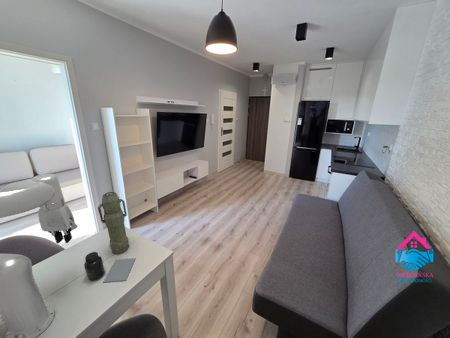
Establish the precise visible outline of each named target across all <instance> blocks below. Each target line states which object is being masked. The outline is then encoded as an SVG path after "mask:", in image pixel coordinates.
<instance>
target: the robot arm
mask: <svg viewBox="0 0 450 338" xmlns="http://www.w3.org/2000/svg"><path fill="white" fill-rule="evenodd" d="M38 208H39V209H38ZM35 209H38V210H37V211H38V213H37V214H38V222H39V225H40V228H41V230H42V231H43V232H48V233H49V234H51V236H52V237H54V239H55V242H56V244H57V245H58V244H60V243H61V242H62V241H63V240H64V242H65V244H68V243H69V242H70V241H71V240H72V239H73V236H72V233H71V232H72V231H75V230H76V229H77V228H78V227H79V226H78V225H77V224H76V222H75V217H74V216H73V212H72V210H71V209H70V207H69V206H68V204H67V203H66V201H65V198H64V195H63V191H62V188H61V184H60V181H59V178H58V176H57V175H56V174H54V173H43V174H42V173H41V174H38V175H36V176H33V177H32V178H27V179H24V180H19V181H15V182H11V183H9V184H7V185H5V186H3V187H2V188H1V190H0V219H3V218H6V217H11V216H15V215H20V214H23V213H24V214H25V213H26V212H30V211H32V210H35ZM63 234H64V235H63ZM55 316H56V312H55V308H54V307H53V306H51V305H46V302H45V301H44V299H43V296H42V293H41V291H40V289H39V287H38V284H37V282H36V279H35V278H34V274H33V263H32V260H31V259H30V257H28V256H26V255H23V254H18V253H17V254H16V253H0V317H1V318H2V321H3V322H4V324H5V325H6V326H5V327H7V329H8V330H7V332H6V333H5V338H38V337H39V336H40V335H41V334H42V333H43V332H44V331H46V330H47V329H48V327H49V326H50V325H51V324H52V322H53V321H54V319H55Z"/></svg>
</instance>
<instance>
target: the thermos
mask: <svg viewBox="0 0 450 338" xmlns="http://www.w3.org/2000/svg"><path fill="white" fill-rule="evenodd" d="M121 202H122V207H121ZM101 208H102V209H103V213H104V215H103V214H102V210H101ZM122 208H123V210H122ZM126 208H127V207H126V203H125V200H124V199H123V198H120V197H119V195H118V193H117V192H115V191H108V192H106V193H103V195H102V198H101V203H100V204H99V205H98V207H97V210H98V214H99V217H100V222H101V223H103V224H105V227H106V228H107V233H108V237H109V247H110V250H111V253H112V254H113V255H114V256H115V255H117V256H118V255H122V254H124V253H125V252H127V251H128V250H129V249H130V244H129V243H130V242H129V238H128V235H127V231H126V228H125V227H126V226H125V218H126V217H127V215H128V213H127V209H126ZM128 248H129V249H128Z"/></svg>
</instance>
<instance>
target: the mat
mask: <svg viewBox="0 0 450 338" xmlns="http://www.w3.org/2000/svg"><path fill="white" fill-rule="evenodd" d="M135 261H136V257H134V258H122V259H121V258H119V259H115V260H114V261H113V263H112V265H111V267H110V269H108V272H107V274H106V276H105V278H104V280H103V281H102V284H103V283H104V284H105V283H106V284H107V283H117V282H126V281H127V279H128V277H129V276H130V273H131V270H132V269H133V265H134V263H135Z"/></svg>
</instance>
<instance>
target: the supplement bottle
mask: <svg viewBox="0 0 450 338" xmlns="http://www.w3.org/2000/svg"><path fill="white" fill-rule="evenodd" d="M84 259H85V261H84V264H83V266H84V270H85V274H86V277H87V280H88V281H89V282H96V281H98V280H100V279H101V278H103V276H104V275H105V273H106V270H105V266H104V262H103V259H102V256H100V255H99V254H98V252H97V251H93V252H89V253H88V254H87V255H86V256H85V257H84Z"/></svg>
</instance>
